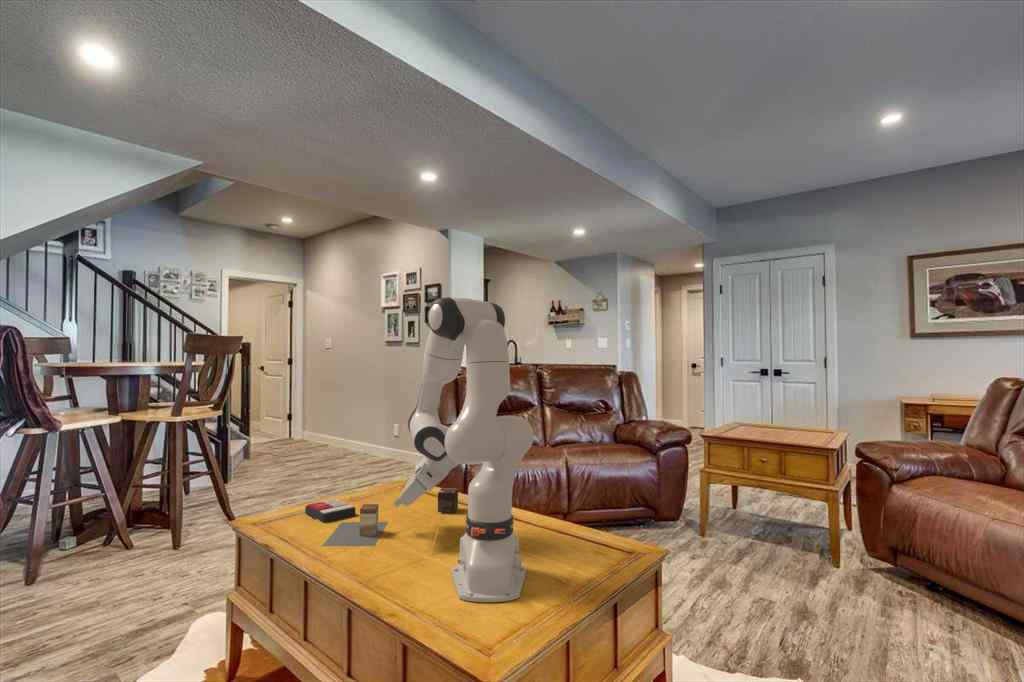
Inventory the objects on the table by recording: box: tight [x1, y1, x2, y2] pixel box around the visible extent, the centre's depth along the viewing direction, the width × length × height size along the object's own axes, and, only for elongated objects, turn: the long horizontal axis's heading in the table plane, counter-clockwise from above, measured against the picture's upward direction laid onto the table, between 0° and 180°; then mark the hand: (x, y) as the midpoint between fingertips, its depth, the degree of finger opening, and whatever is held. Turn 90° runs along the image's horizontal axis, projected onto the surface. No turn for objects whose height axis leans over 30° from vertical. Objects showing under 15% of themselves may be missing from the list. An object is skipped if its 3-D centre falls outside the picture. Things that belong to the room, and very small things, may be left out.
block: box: [359, 503, 380, 536], centre depth 153 cm, size 4×4×8 cm
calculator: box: [304, 498, 356, 524], centre depth 170 cm, size 11×4×15 cm
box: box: [437, 487, 459, 514], centre depth 177 cm, size 6×6×7 cm
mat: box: [321, 521, 389, 547], centre depth 153 cm, size 20×15×1 cm
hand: (395, 504), depth 154 cm, fingers closed
